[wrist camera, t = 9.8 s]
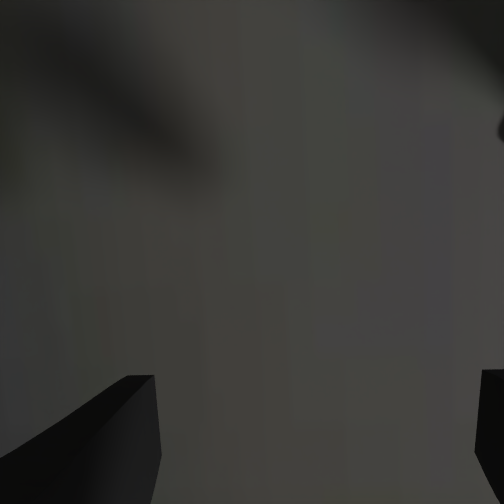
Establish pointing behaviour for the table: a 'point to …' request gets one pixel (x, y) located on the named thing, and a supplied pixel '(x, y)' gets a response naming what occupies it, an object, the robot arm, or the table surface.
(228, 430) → the table surface
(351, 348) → the table surface
